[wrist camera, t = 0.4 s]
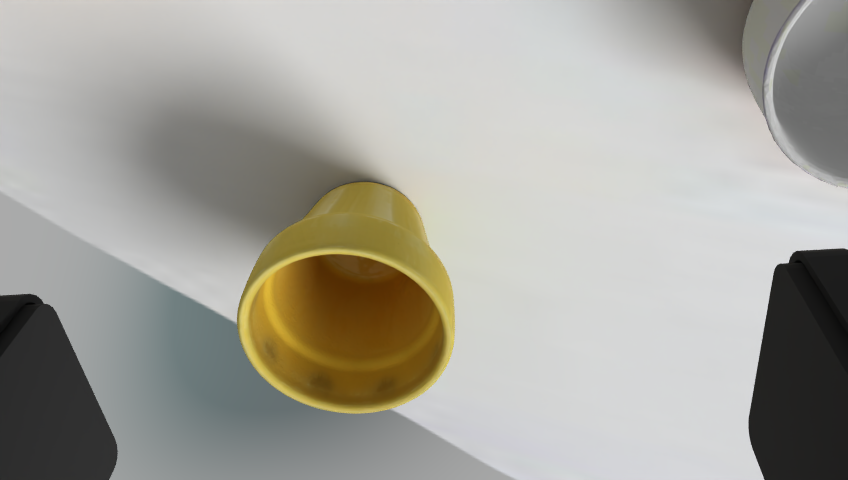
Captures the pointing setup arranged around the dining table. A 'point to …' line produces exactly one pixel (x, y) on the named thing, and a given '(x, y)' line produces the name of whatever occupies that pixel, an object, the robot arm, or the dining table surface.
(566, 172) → the dining table surface
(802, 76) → the teacup
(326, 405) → the plant pot
